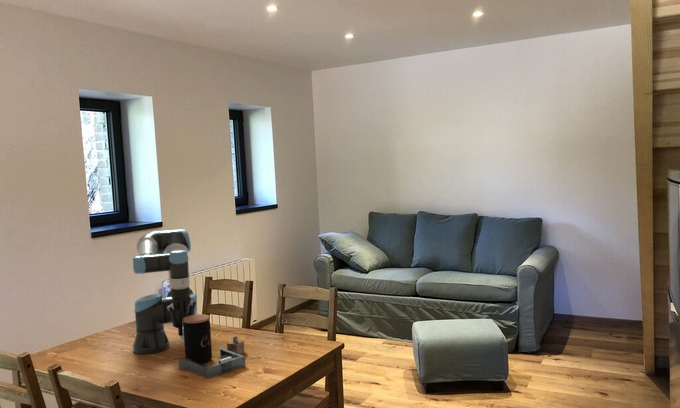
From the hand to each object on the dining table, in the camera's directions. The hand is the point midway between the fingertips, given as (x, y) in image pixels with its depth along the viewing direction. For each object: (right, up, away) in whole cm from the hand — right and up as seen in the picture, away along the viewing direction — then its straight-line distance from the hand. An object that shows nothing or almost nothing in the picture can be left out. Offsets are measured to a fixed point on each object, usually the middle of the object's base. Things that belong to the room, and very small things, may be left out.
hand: (183, 342), depth 239 cm
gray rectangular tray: (+17, -6, -16) cm, 24 cm away
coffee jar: (+8, -6, -8) cm, 13 cm away
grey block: (+22, -5, 0) cm, 23 cm away
